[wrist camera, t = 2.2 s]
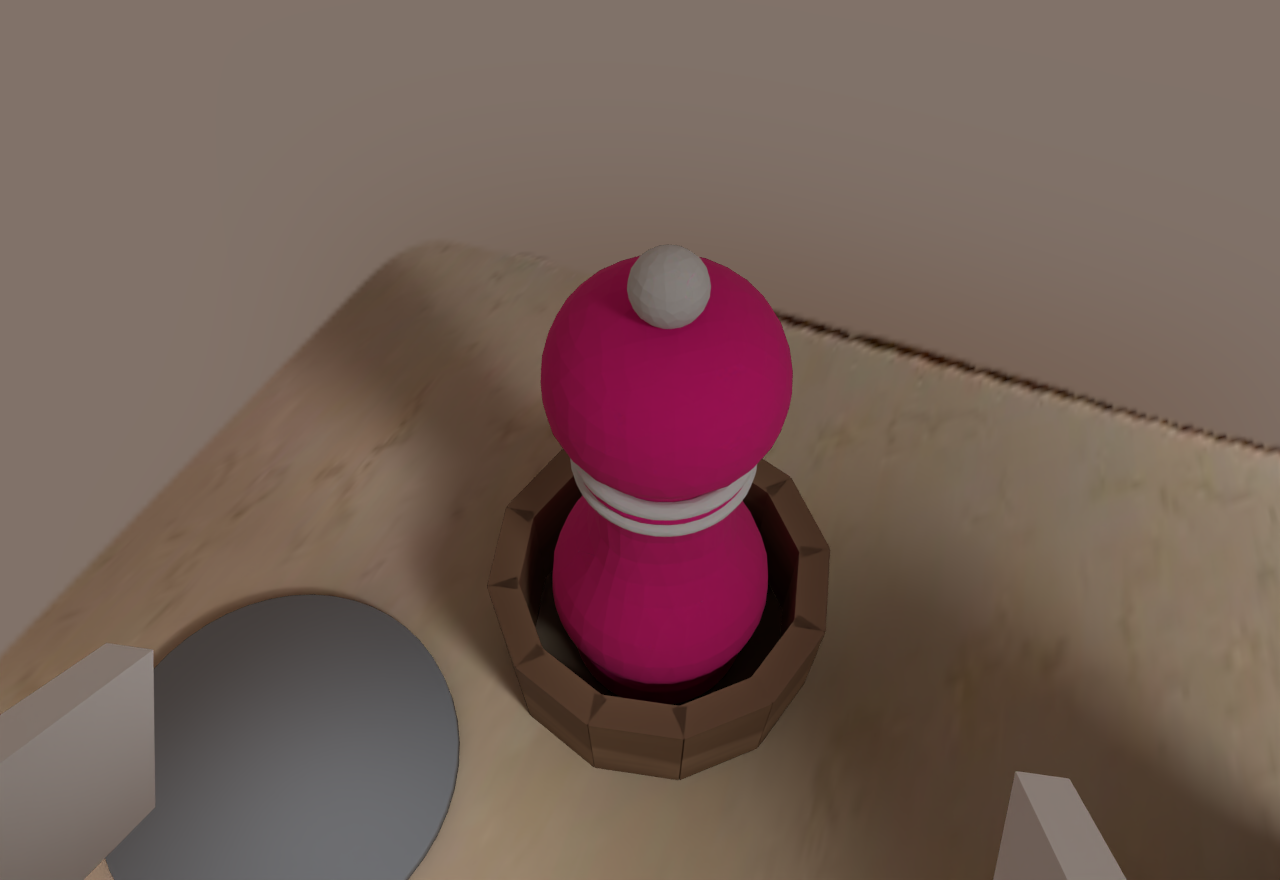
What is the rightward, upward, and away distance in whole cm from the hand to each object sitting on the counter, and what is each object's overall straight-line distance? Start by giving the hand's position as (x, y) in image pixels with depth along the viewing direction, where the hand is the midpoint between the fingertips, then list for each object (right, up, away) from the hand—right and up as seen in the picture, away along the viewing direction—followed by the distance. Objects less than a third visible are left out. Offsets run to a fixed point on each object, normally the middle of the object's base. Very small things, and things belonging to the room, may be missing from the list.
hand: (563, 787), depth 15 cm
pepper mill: (+2, -2, +23) cm, 23 cm away
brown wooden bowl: (+2, -2, +22) cm, 23 cm away
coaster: (-11, -6, +20) cm, 23 cm away
